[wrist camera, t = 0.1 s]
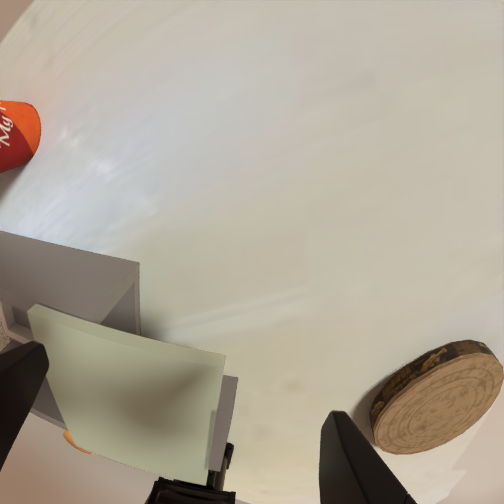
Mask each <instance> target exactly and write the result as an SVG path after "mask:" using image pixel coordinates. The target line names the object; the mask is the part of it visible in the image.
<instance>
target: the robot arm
mask: <svg viewBox="0 0 504 504" xmlns="http://www.w3.org/2000/svg"><path fill="white" fill-rule="evenodd" d="M49 365H50V364H49V359H48V356H47V352H46V349H45V346H44V345H43V344H42V343H40V342H37V341H34V340H33V341H30V342H27V343H25V344H23V345H20V346H18V347H16V348H13V349H11V350H9V351H6V352H4V353H1V354H0V471H1V469H2V467H3V464H4V462H5V460H6V458H7V455H8V453H9V451H10V449H11V447H12V445H13V443H14V441H15V439H16V437H17V435H18V433H19V431H20V429H21V427H22V425H23V423H24V421H25V419H26V417H27V415H28V413H29V412H30V410H31V408H32V406H33V404H34V402H35V400H36V397H37V395H38V392H39V390H40V388H41V385H42V383H43V381H44V378H45V376H46V374H47V372H48V369H49ZM233 450H234V445H232V444H228V443H226V447H225V451H224V456H223V460H222V465H221V469H220V472H219V471H214V470H208V476H207V482H206V486H205V485H200V484H195V483H190V482H186V481H181V480H177V479H174V480H173V481H172V480H168V479H164V478H162V477H159V479H158V481H155V482H154V485H153V489H152V491H151V493H150V495H149V497H148V499H147V500H146V502H145V504H235V495H236V492H232V491H231V492H228V491H223V486H224V480H225V473H226V469H228V468H229V465H230V461H231V457H232V453H233ZM319 488H320V503H321V504H417V503H416V502H415V500H414V499H413V498H412V497H411V495H410V494H408V492H407V491H406V489H405V488H404V487H403V485H402V484H401V483H400V482H399V480H398V479H397V478H396V477H395V475H394V474H393V473H392V471H391V470H390V469H389V468H388V466H387V465H386V464H385V462H384V461H383V460H382V459H381V457H380V456H379V455H378V453H377V452H376V451H375V450H374V448H373V447H372V446H371V444H370V443H369V442H368V440H367V439H366V438H365V437H364V435H363V434H362V433H361V431H360V430H359V429H358V427H357V426H356V425H355V423H354V422H353V421H352V420H351V418H350V417H349V416H348V414H347V413H346V412H345V411H335V410H333V411H331V412H330V413H329V415H328V417H327V419H326V421H325V422H324V424H323V426H322V429H321V441H320V462H319Z"/></svg>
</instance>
